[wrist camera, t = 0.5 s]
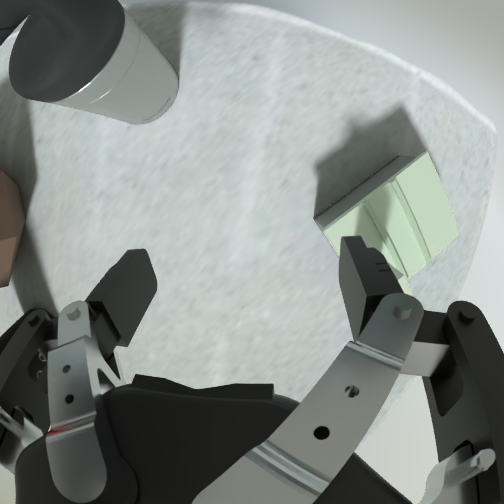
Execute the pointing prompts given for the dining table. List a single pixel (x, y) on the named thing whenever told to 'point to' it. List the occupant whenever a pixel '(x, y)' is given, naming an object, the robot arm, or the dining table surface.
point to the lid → (401, 220)
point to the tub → (361, 191)
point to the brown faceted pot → (9, 226)
